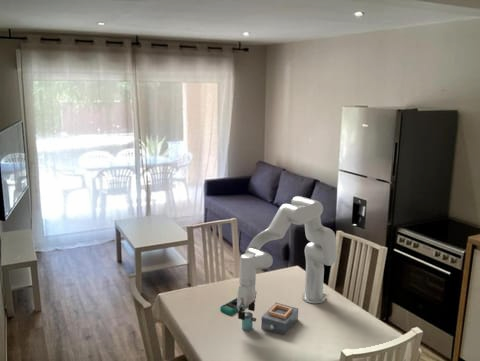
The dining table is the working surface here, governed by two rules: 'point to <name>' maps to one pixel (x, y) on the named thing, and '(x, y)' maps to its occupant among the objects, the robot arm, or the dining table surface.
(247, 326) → the cylinder
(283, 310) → the grey box
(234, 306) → the digital multimeter
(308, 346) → the dining table surface
